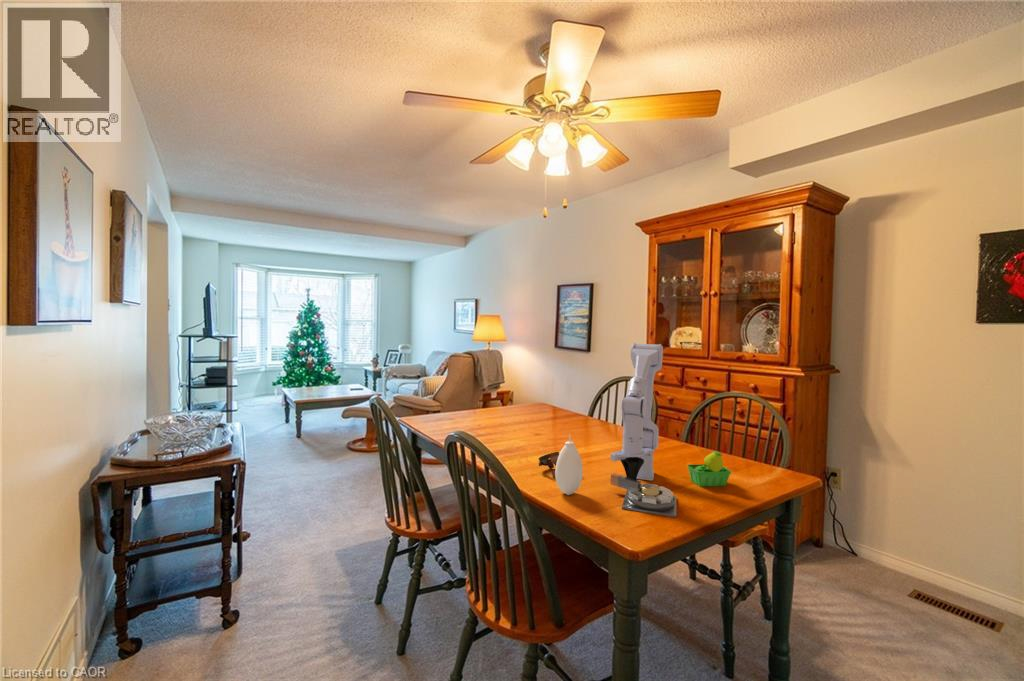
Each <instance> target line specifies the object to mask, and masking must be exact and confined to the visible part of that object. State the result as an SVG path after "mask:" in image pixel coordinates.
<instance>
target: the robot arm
mask: <svg viewBox="0 0 1024 681" xmlns="http://www.w3.org/2000/svg"><path fill="white" fill-rule="evenodd" d="M663 356H664V347H663V345H662V344H661V343H659V344H657V343H656V344H655V343H653V344H652V343H651V344H650V343H636V342H633V344H632V345H631V347H630V359H631V363H632V365H633V368H634V377H631V378H630V380H629V383H628V386H627V390H626V395H625V397H623V398H622V401H621V416H622V417H621V418H622V423H623V424H622V425H623V426H622V449H620V450H618V451H615V452H611V453H610V460H611V461H613V462H618V461H620V462H621V464H622V466H623V469H624V472H625V477H628V478H631V479H634V480H644V481H645V480H646V481H654V478H655V470H653V469H654V451H656V450H657V449H658V447H659V440H660V437H659V427H658V425H657V424H656V423H655V422H653V421H652V420H651V418H652V408H653V407H652V406H653V405H652V404H653V395H654V383H655V382H654V381H655V376H656V373H657V372H658V371H661V370H662V367H663V360H664V359H663Z"/></svg>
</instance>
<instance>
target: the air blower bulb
mask: <svg viewBox="0 0 1024 681" xmlns="http://www.w3.org/2000/svg"><path fill="white" fill-rule="evenodd" d="M571 439H572V438H571V434H569V435H568V441H566V442H565V443H564V446H562V448H561V450H560V451H559V456H558V459H557V463H556V466H555V470H554V471H555V477H556V478H555V482H556V485H557V487H558V489H559V490H560V491H561V492H562V493H563V494H565V495H566V496H570V495H573V494H575V492H577V491H578V490H579V489H580V486H581V483H582V479H583V464H582V463H583V462H582V459H581V456H580V453H579V450H578V449H577V447H576V446H575V443H574V441H572V440H571Z"/></svg>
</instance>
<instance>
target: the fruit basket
mask: <svg viewBox="0 0 1024 681" xmlns="http://www.w3.org/2000/svg"><path fill="white" fill-rule="evenodd" d="M722 456H723V455H722V453H721V452H719V451H716V450H715V451H713V452H711V453H709V454H708V455H706V456H705V457H704V459H703V462H704V464H701V463H700V464H687V465H686V466H687V469H688V472H689V477H690V480H691V482H692V483H694V484H695V485H697V486H698V487H719V486H720V487H723V486H724V487H725V486H726V485H727V483H728V480H729V477H730V475H731V473H732V470H730V469H729V468H727V467H725V466H724V461H723V458H722Z"/></svg>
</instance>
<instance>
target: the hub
mask: <svg viewBox="0 0 1024 681" xmlns="http://www.w3.org/2000/svg"><path fill="white" fill-rule="evenodd" d="M650 484H651V483H646V484H645V483H644V484H643V485H642V491H641V493H643V494H645V495H651V496H657V495H660V494H659V487H660V486H659V485H658V486H655V485H656V484H654V485H650ZM621 509H622V510H627V511H632V512H639V513H644V514H652V515H658V516H665V517H670V518H677V495H673V501H671V502H670V503H665V504H659V503H657V502H656V504H650V503H644V502H642V500H640V501H637V500H635V499H633V498H632V497H630V496H629V495H628V489H626V492H625V495H624V498H623V501H622V505H621Z"/></svg>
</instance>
